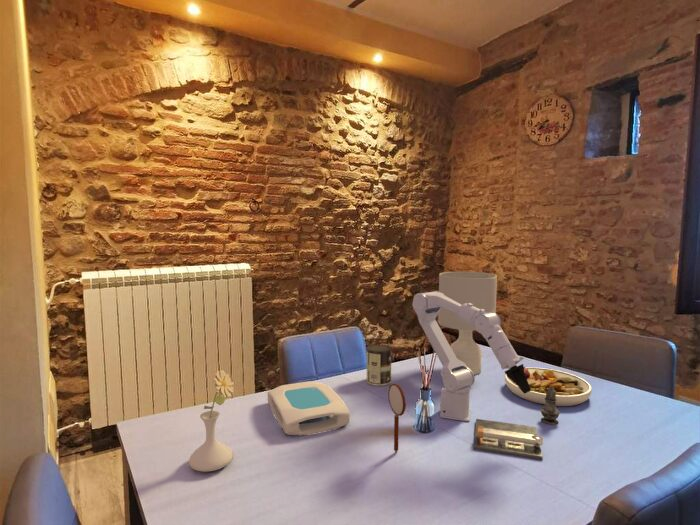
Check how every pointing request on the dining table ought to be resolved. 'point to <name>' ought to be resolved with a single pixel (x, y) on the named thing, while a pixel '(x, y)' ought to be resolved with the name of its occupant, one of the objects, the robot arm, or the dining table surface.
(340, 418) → the document scanner
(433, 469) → the dining table surface
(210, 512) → the dining table surface
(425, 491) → the dining table surface
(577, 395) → the bowl
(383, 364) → the coffee can
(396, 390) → the magnifying glass
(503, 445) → the label panel
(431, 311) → the robot arm
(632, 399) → the dining table surface
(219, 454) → the flower in vase
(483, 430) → the swing arm
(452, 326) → the lamp
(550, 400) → the grey tall carved piece
